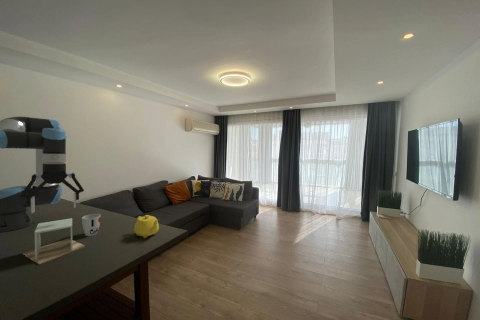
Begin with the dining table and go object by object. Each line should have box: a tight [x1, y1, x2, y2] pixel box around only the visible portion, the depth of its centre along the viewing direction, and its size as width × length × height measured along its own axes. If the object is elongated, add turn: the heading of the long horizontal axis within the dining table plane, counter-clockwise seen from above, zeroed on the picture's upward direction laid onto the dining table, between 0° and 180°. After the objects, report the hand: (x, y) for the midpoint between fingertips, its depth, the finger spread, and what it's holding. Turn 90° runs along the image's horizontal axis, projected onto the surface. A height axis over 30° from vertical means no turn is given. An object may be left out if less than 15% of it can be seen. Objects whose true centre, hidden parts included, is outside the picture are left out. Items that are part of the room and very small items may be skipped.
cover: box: [34, 217, 73, 259], centre depth 86 cm, size 12×12×12 cm
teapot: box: [133, 214, 160, 239], centre depth 105 cm, size 18×11×11 cm, turn 60°
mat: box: [22, 237, 86, 265], centre depth 86 cm, size 16×16×1 cm
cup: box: [81, 213, 101, 237], centre depth 103 cm, size 8×8×10 cm
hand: (54, 209), depth 85 cm, fingers open, 13 cm apart
